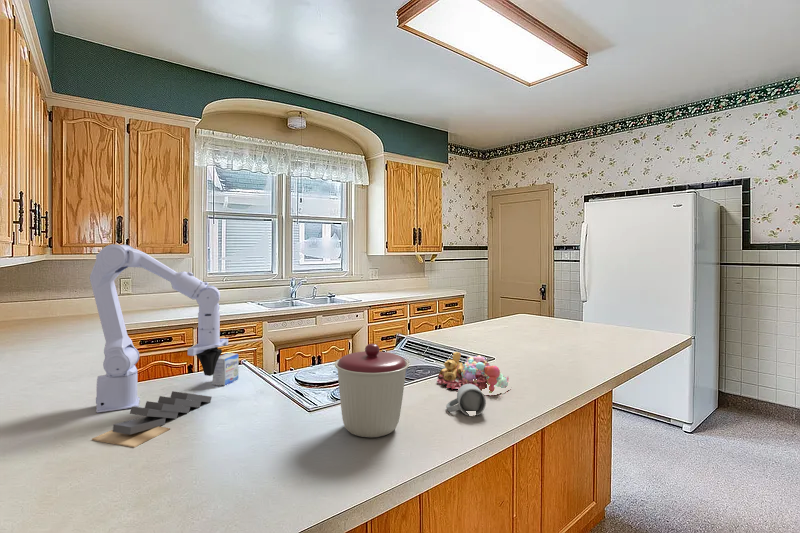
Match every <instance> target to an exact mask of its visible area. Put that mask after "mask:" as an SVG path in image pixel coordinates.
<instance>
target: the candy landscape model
mask: <svg viewBox="0 0 800 533" xmlns="http://www.w3.org/2000/svg"><path fill="white" fill-rule="evenodd" d="M461 356H462V354H461V352H459V351H455V352H453V353H452V359H451V358H450V359H447V360H446V361H445V362H444V363H443V366H444V368H443V369H441V370H440V371H439V372H438V376H437V379H436V383H438V384H439V385H440V386H443V385H445V384H447V385H446V387H447V388H451V389H450V390H453V389H459V388H460V387H461V386H463V385H465V384H473V385H475V386H477V387H478V388H479V389H480V390H481V391H482V389H485V388H487V384H488V385H490V386H489V390H490V391H489V393H492V392H493V391H494V390H495V387H494V385H495V386H497V387H501V388H506V387H507V386H508V382H509V379H510V378H509V376H505V375H504V374H503V373H502V371H500V368H499V367H498V366H496V365H490V363H489V362H488V361H487V360H486V358H485V357H483V356H481V355H477V356H476V355H474V356H473V357H472V355H471V356H470V357H469V356H467V357H466V361H465V362H464V363H463V362H460V359H461ZM473 379H474V381H473ZM476 379H477V380H476ZM486 383H487V384H486ZM446 387H445V388H446ZM447 388H446V389H447Z"/></svg>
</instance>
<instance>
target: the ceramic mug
mask: <svg viewBox="0 0 800 533" xmlns="http://www.w3.org/2000/svg"><path fill="white" fill-rule="evenodd" d="M486 406H487V400H486V396H484V394H483V393H482V392H481V390H480V389H479V388H478V387H477V386H475V385H473V384H465V385H463V386H461V387H460V388H459V390H457V394H456V398H454V399H452V400H450V401H449V402H448V403H447V404H446V406H445V408H446V409H447V411H448V412H449V411H450V412H449V413H453V412H457V411H461V412H462V414H464V415H465V416H468V415H469V414H468V413H467V412H466V411H476V415H477V416H479V415H481V414H482V413H483V411H484V410H485V408H486Z"/></svg>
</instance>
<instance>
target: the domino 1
mask: <svg viewBox="0 0 800 533" xmlns="http://www.w3.org/2000/svg"><path fill="white" fill-rule="evenodd" d="M166 419H167V418H163V417H151V416H142V417H138V418H134V419H130V420H129V419H128V420H126V421H122V422H118V423H115V424H113V427H112V430H113V432H117V433H123V434H129V435H131V434H134V433H137V432H141V431H144V430H148V429H151V428H154V427H158V426H159V427H162V426H165V425H166Z"/></svg>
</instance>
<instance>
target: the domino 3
mask: <svg viewBox="0 0 800 533" xmlns="http://www.w3.org/2000/svg"><path fill="white" fill-rule="evenodd" d="M144 408H149V409H156V410H163V411H173V412H178V413H183V414H190V410H191V407H189V406H180V405H172V404H165V403H158V401H157V402H156V401H148V400H146V402H145V405H144Z"/></svg>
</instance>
